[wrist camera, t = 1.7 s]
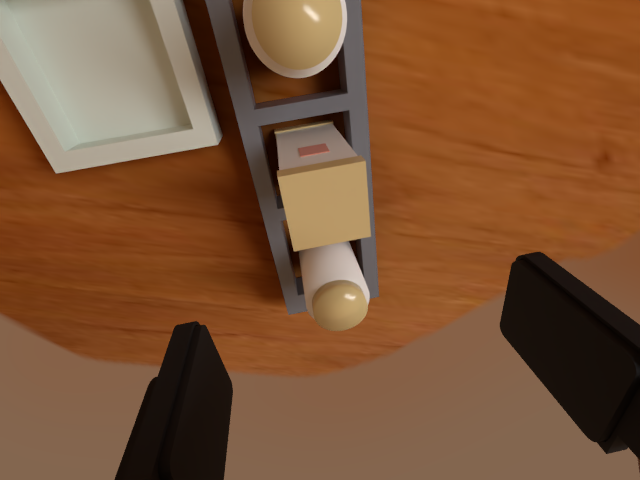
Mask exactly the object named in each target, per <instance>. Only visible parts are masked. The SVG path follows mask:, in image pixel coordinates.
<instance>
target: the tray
mask: <svg viewBox="0 0 640 480" xmlns="http://www.w3.org/2000/svg"><path fill="white" fill-rule="evenodd" d="M0 80H1V82H2V84H3V86H4V87H5V89H6V91H7V92H8V94H9V96H10V97H11V99H12V101H13V102H14V104H15V106H16V107H17V109H18V111H19V112H20V114H21V116H22V117H23V119H24V121H25V122H26V124H27V126H28V127H29V129H30V131H31V133H32V134H33V136H34V138H35V139H36V141H37V143H38V144H39V146H40V148H41V149H42V151H43V153H44V154H45V156H46V158H47V159H48V161H49V163H50V164H51V166H52V168H53V169H54V171H55V173H56V174H57V173H62V172H68V171H73V170H79V169H85V168H90V167H96V166H101V165H107V164H113V163H118V162H124V161H130V160H135V159H141V158H146V157H152V156H158V155H163V154H169V153H174V152H180V151H186V150H191V149H197V148H202V147H208V146H214V145H218V144H219V142H220V140H221V138H222V136H223V135H222V131H221V128H220V125H219V121H218V118H217V114H216V111H215V108H214V104H213V101H212V98H211V94H210V91H209V87H208V84H207V81H206V77H205V74H204V70H203V67H202V64H201V60H200V57H199V53H198V50H197V47H196V43H195V40H194V36H193V33H192V30H191V26H190V23H189V19H188V16H187V13H186V9H185V6H184V2H183V0H0Z"/></svg>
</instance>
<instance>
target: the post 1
mask: <svg viewBox="0 0 640 480" xmlns="http://www.w3.org/2000/svg"><path fill="white" fill-rule="evenodd" d="M243 22H244V28H245V32H246V36H247V39H248V41H249V44H250V46H251V47H252V49H253V51H254V53H255V54H256V55H257V57H258V58H259V59H260V60H261V62H262V63H263V64H265V65H266V66H267V67H268V68H269V69H271V70H272V71H274V72H276V73H278V74H280V75H282V76H285V77H290V78H305V77H309V76H312V75H315V74H317V73H319V72H320V71H322V70H323V69H325V68H326V67H327V66H328V65H329V64H330V63H331V62H332V61H333V60H334V58H335V57H336V56H337V54H338V52H339V50H340V48H341V46H342V44H343V41H344V37H345V33H346V28H347V9H346V3H345V0H244V2H243Z"/></svg>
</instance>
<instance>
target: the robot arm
mask: <svg viewBox="0 0 640 480" xmlns="http://www.w3.org/2000/svg"><path fill="white" fill-rule="evenodd" d="M500 329H501V332H502V334H503V335H504V337H505V338H506V339H507V341H508V342H509V343H510V344H511V345H512V347H514V349H515V350H516V351H517V353H518V354H519V355H520V356H521V358H522V359H523V360H524V361H525V362H526V364H527V365H528V366H529V367H530V369H531V370H532V371H533V372H534V373H535V375H536V376H537V377H538V378H539V379H540V381H541V382H542V383H543V384H544V386H545V387H546V388H547V389H548V390H549V392H550V393H551V394H552V395H553V397H554V398H555V399H556V400H557V401H558V403H559V404H560V405H561V406H562V407H563V409H564V410H565V411H566V412H567V414H568V415H569V416H570V417H571V418H572V420H573V421H574V422H575V423H576V424H577V426H578V427H579V428H580V429H581V431H582V432H583V433H584V434H585V435H586V436H587V437H588V438H589V439H590V440H591V441H593V442H597V443H598V444H599V446H600V447H601V448H602V449H603V450H604V452H605V453H606V454H608V453H613V452H616V451H621V450H625V449H627V448H628V447H629V448H630V450H631V451H632V452H633V453H634V454H635V455H636V456H637V458H638V465H639V472H640V325H639V324H638V323H637V322H635V321H634V320H632V319H631V318H630V317H628V316H627V315H625V314H624V313H623V312H621V311H620V310H619V309H618V308H616V307H615V306H614V305H612V304H611V303H609V302H608V301H607V300H605V299H604V298H603V297H601V296H600V295H599V294H597V293H596V292H595V291H593V290H592V289H591V288H589V287H588V286H586V285H585V284H584V283H583V282H581V281H580V280H578V279H577V278H576V277H574V276H573V275H572V274H570V273H569V272H568V271H566V270H565V269H564V268H562V267H561V266H560V265H558V264H557V263H556V262H554V261H553V260H552V259H550V258H549V257H547V256H546V255H545V254H543V253H541V252H535V253H530V254H525V255H520V256H518V257H517V258H516V261H515V262H513V263H512V265H511V270H510V275H509V280H508V285H507V290H506V296H505V301H504V306H503V311H502V316H501V321H500ZM232 395H233V388H232V382H231V380H230V378H229V375H228V373H227V371H226V369H225V367H224V364H223V362H222V360H221V358H220V356H219V353H218V351H217V349H216V347H215V345H214V342H213V340H212V338H211V336H210V334H209V331H208V329H207V327H206V326H205V325H200V324H199V323H198V322H197V321H195V322H190V323H185V324H180V325H176V326H175V328H174V330H173V333H172V336H171V339H170V342H169V345H168V348H167V351H166V354H165V357H164V360H163V363H162V366H161V368H160V371H159V374H158V377H155V378H153V379H152V381H151V382H150V384H149V385H148V388H147V391H146V393H145V396H144V399H143V402H142V405H141V407H140V410H139V413H138V416H137V418H136V421H135V424H134V427H133V430H132V433H131V435H130V438H129V441H128V443H127V447H126V449H125V452H124V455H123V457H122V460H121V463H120V466H119V469H118V471H117V474H116V477H115V480H224V472H225V462H226V452H227V442H228V434H229V424H230V415H231V405H232Z"/></svg>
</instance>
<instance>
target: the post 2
mask: <svg viewBox="0 0 640 480" xmlns="http://www.w3.org/2000/svg"><path fill="white" fill-rule="evenodd" d="M298 252H299V259H300V266H301V273H302V280H303V287H304V294H305V301H306V308H307V311H308V313H309V314H310V315H311V316H312V317H313V318H314V319H315V321H316V322H317V324H318V325H319V326H321V327H322V328H324V329H327V330H331V331H342V330H347V329H350V328H352V327H354V326H356V325H357V324H359V323H360V322H361V321H362V320H363V319H364V317H365V315H366V313H367V310H368V303H369V299H370V293H369V290H368V287H367V285H366V282H365V280H364V277H363V275H362V272H361V270H360V267H359V265H358V262H357V260H356V257H355V255H354V253H353V250H352V248H351V245H350V243H349V241H346V242H340V243H335V244H330V245H325V246H320V247H315V248H309V249H304V250H299V251H298Z"/></svg>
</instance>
